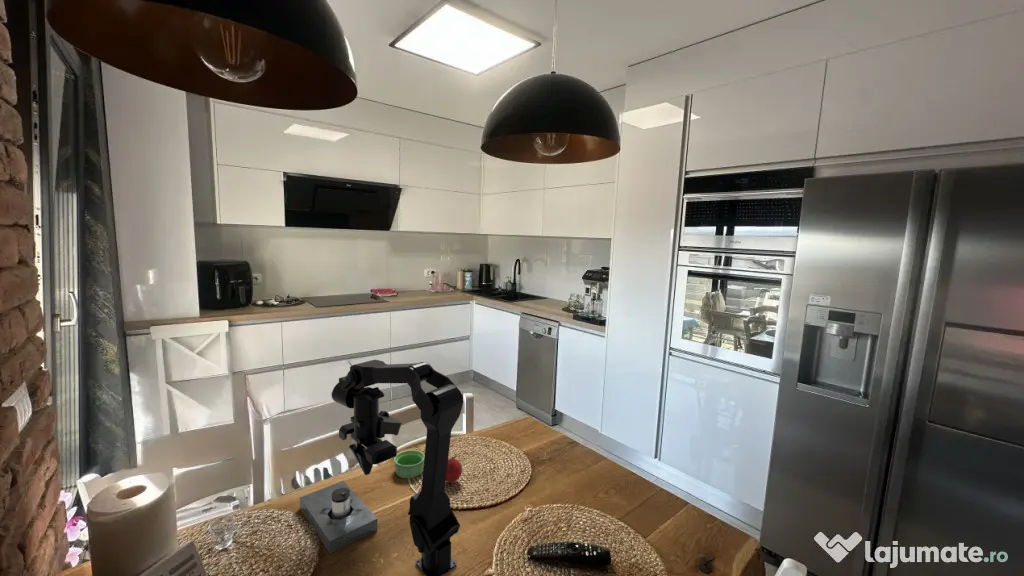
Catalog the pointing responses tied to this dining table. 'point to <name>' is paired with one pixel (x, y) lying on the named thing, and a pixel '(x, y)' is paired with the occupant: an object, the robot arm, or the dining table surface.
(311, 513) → the jig
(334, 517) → the metal cylinder peg
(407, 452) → the ramekin
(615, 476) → the dining table surface
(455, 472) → the onion
